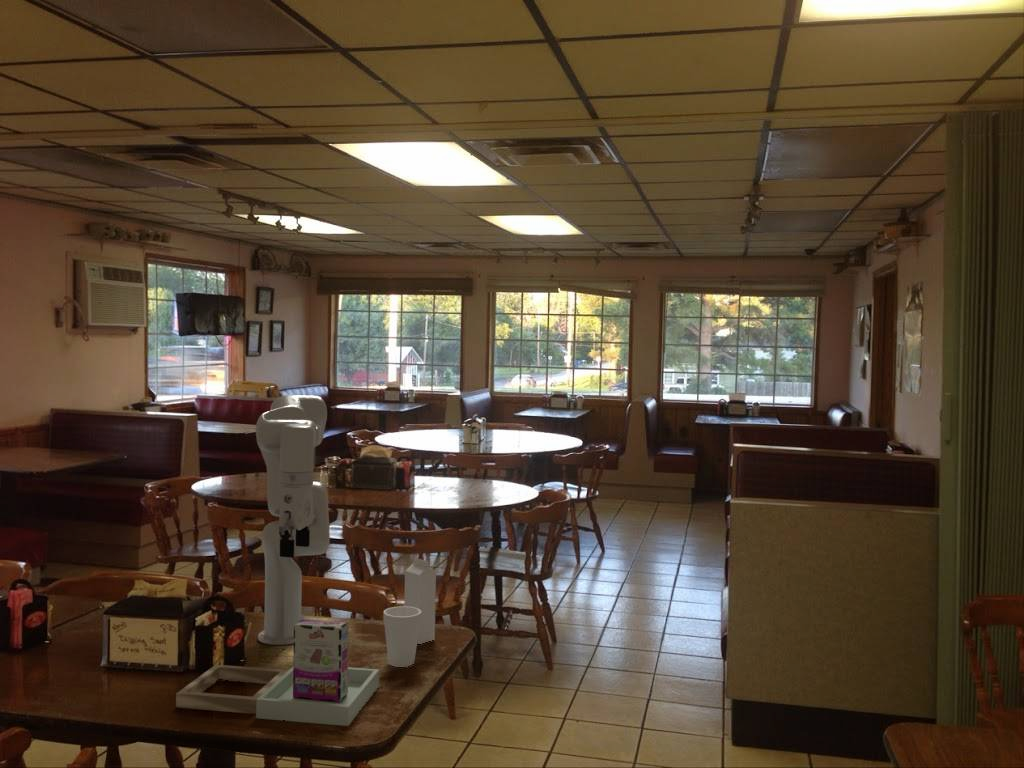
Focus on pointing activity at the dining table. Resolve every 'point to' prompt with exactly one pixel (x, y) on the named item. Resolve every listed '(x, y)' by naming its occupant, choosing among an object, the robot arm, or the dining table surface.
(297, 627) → the candy bar box
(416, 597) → the milk
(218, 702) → the frame
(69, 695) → the dining table surface
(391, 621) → the foam cup
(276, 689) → the green tray
